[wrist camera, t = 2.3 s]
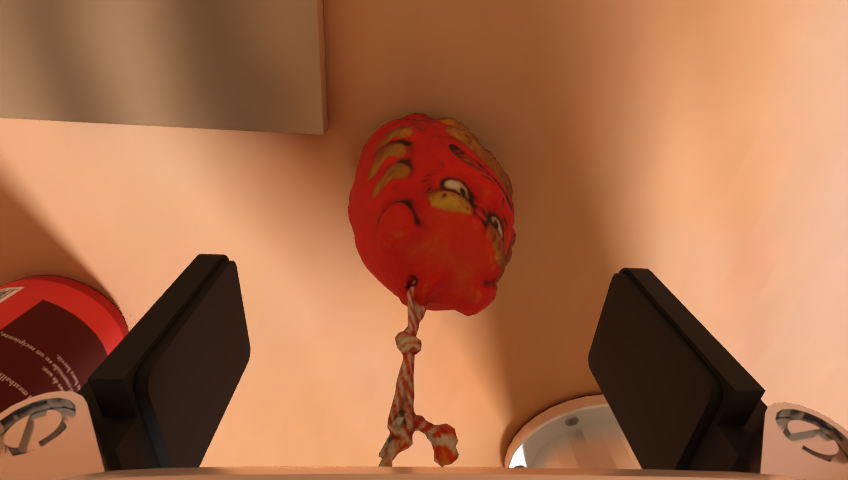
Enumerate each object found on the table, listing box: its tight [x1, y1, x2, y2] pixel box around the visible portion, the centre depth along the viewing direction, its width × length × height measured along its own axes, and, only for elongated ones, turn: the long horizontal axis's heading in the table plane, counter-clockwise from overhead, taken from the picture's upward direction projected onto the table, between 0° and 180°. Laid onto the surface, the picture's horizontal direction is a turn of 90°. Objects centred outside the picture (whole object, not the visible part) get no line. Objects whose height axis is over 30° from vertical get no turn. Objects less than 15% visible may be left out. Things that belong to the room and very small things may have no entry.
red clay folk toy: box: [348, 113, 516, 467], centre depth 15 cm, size 8×7×15 cm
